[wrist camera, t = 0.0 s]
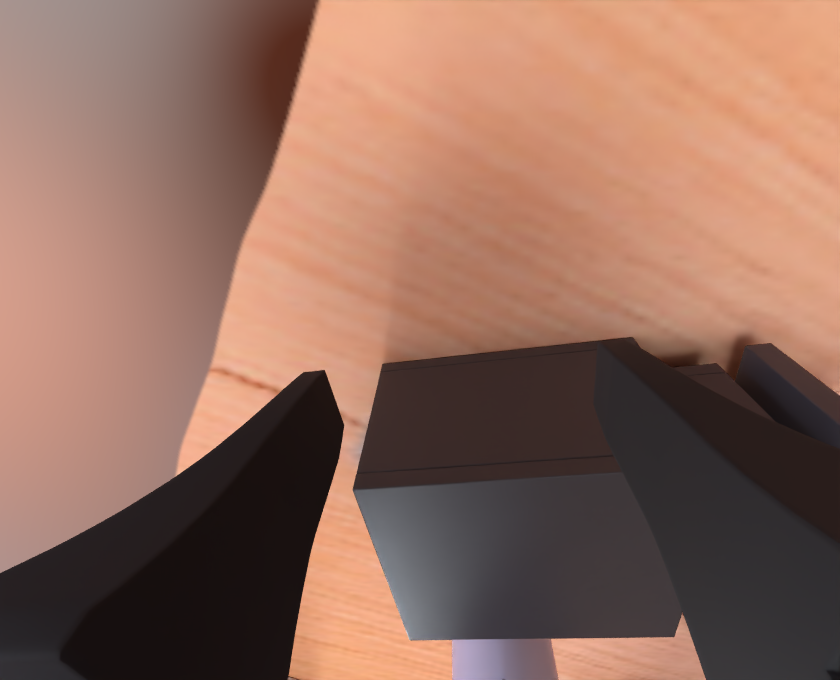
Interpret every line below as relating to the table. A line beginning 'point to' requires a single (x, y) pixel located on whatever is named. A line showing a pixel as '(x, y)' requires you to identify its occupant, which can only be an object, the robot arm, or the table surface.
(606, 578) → the cabinet
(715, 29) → the table surface
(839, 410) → the drawer
